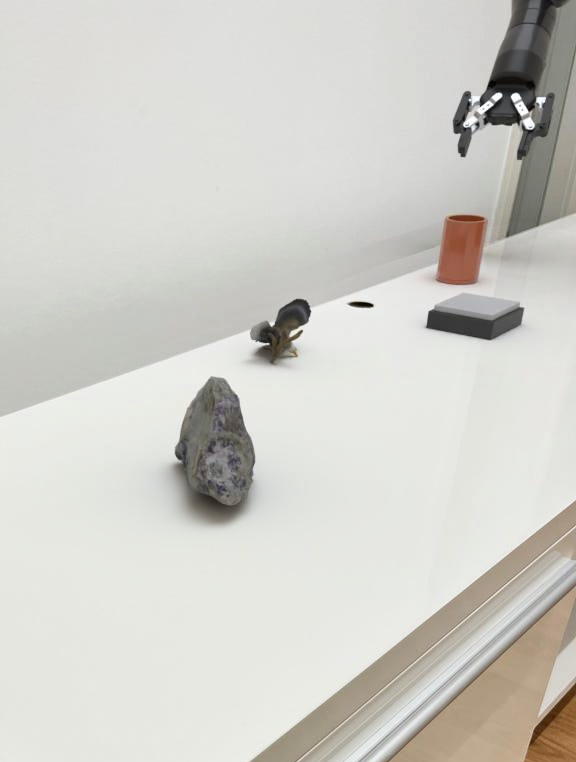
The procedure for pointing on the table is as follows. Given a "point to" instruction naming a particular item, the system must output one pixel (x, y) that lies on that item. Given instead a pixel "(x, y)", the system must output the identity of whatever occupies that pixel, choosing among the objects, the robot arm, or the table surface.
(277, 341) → the grey-brown irregular figure
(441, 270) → the cup
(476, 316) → the scale
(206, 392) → the mineral rock
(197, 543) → the table surface
